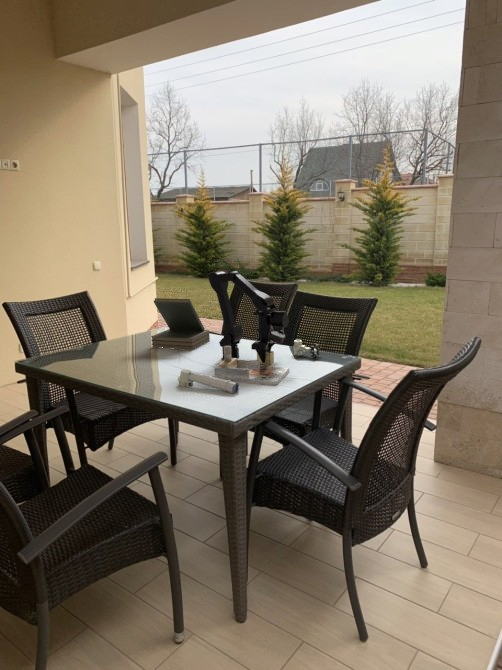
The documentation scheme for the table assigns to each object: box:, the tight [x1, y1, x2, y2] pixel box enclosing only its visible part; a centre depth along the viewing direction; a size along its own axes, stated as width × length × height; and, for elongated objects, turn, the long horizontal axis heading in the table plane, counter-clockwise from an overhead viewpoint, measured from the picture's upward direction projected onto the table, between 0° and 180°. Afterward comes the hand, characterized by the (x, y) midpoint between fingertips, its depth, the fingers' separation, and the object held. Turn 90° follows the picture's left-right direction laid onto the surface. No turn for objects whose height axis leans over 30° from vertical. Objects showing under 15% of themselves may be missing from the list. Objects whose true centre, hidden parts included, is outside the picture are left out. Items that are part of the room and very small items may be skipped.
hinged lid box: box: [151, 297, 211, 351], centre depth 247 cm, size 23×20×25 cm
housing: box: [256, 350, 275, 366], centre depth 210 cm, size 6×5×5 cm
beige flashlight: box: [177, 368, 240, 395], centre depth 180 cm, size 5×7×25 cm
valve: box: [292, 339, 321, 359], centre depth 220 cm, size 7×7×12 cm
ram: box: [218, 346, 238, 368], centre depth 196 cm, size 4×10×10 cm, turn 160°
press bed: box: [212, 358, 290, 386], centre depth 194 cm, size 26×18×4 cm
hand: (265, 361), depth 210 cm, fingers closed on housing, 5 cm apart
